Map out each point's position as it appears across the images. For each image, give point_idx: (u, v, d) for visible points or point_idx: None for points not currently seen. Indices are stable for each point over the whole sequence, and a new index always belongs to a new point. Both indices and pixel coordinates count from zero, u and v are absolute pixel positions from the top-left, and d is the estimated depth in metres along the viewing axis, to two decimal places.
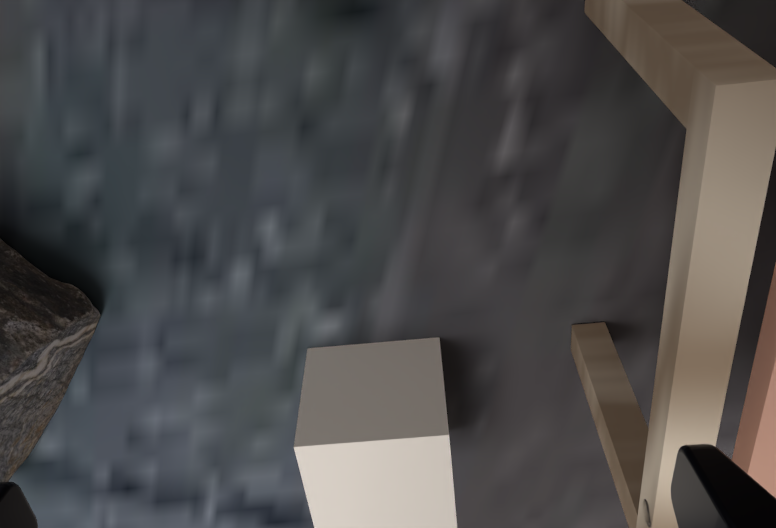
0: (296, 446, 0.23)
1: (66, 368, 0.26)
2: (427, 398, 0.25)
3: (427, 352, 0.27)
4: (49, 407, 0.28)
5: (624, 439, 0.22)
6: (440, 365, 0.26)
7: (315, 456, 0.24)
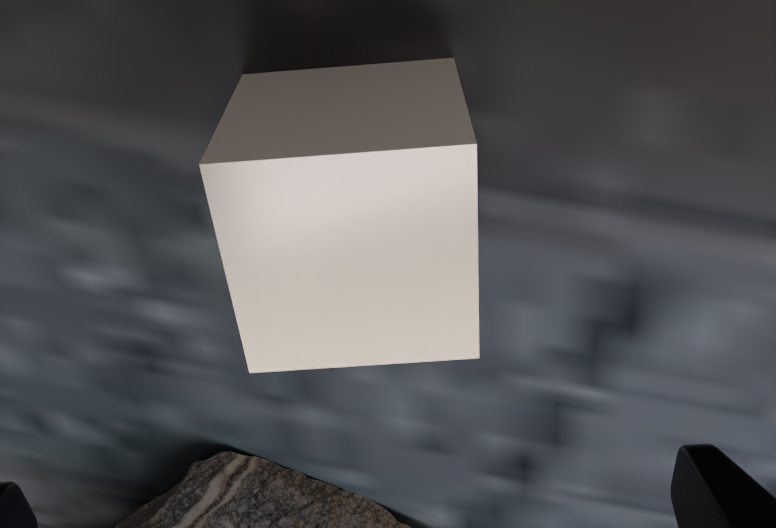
0: None
1: (279, 500, 0.24)
2: None
3: None
4: (345, 520, 0.25)
5: None
6: None
7: (267, 349, 0.15)
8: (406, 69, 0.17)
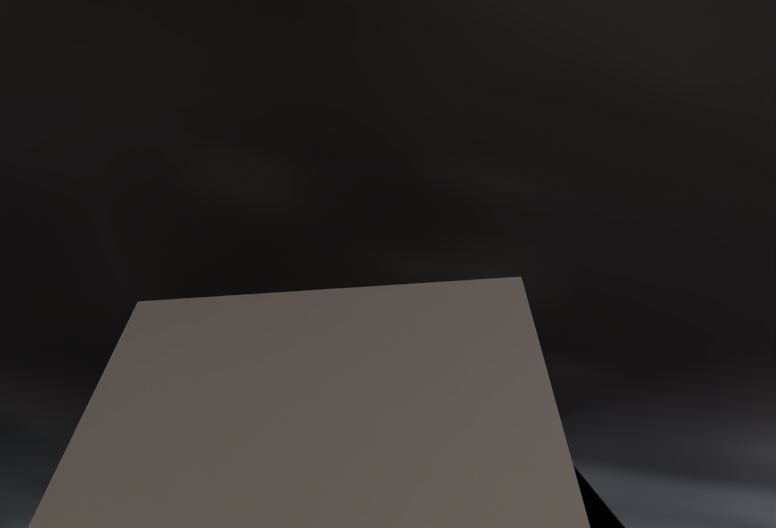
0: None
1: None
2: None
3: None
4: None
5: None
6: (97, 392, 0.08)
7: None
8: (436, 311, 0.09)
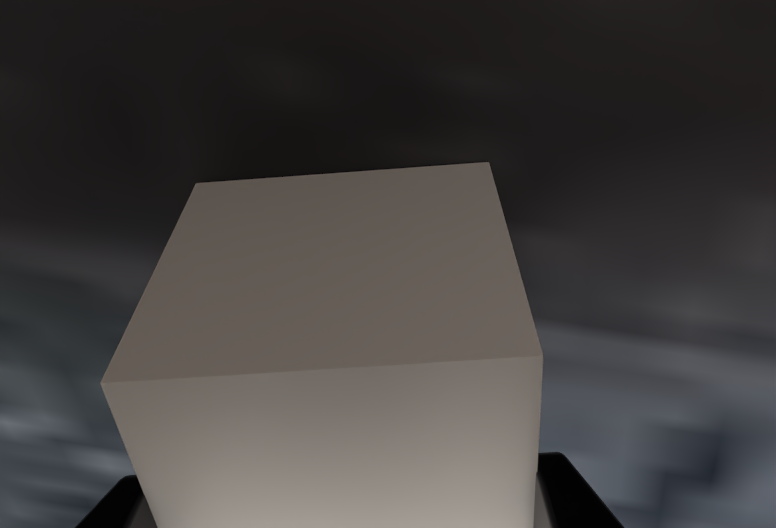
0: None
1: None
2: None
3: None
4: None
5: None
6: (172, 236, 0.11)
7: None
8: (424, 184, 0.12)
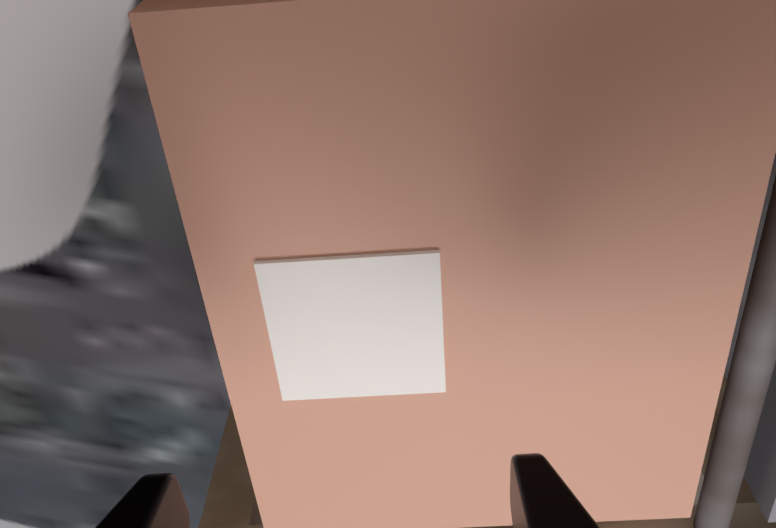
0: None
1: None
2: None
3: None
4: None
5: None
6: None
7: None
8: None
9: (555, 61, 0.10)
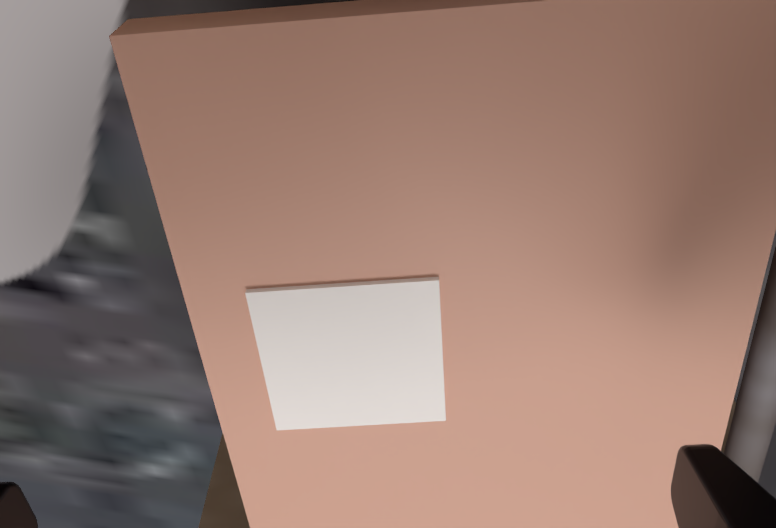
0: None
1: None
2: None
3: None
4: None
5: None
6: None
7: None
8: None
9: (559, 83, 0.10)
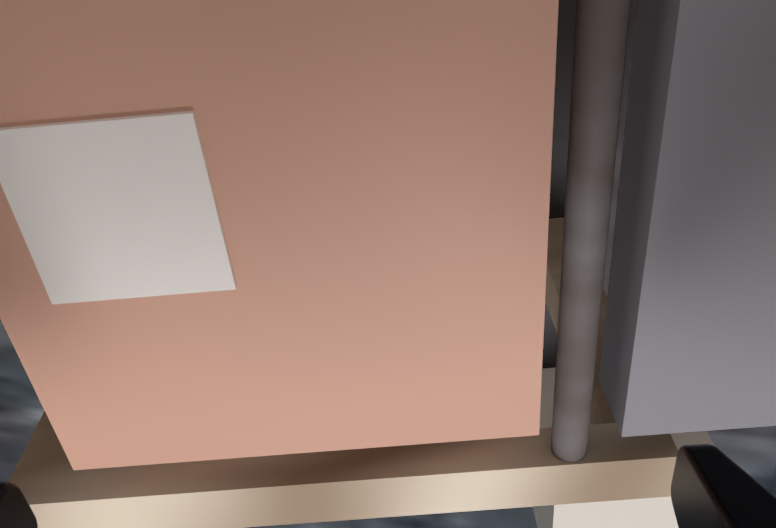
0: None
1: None
2: None
3: None
4: None
5: None
6: None
7: None
8: None
9: None
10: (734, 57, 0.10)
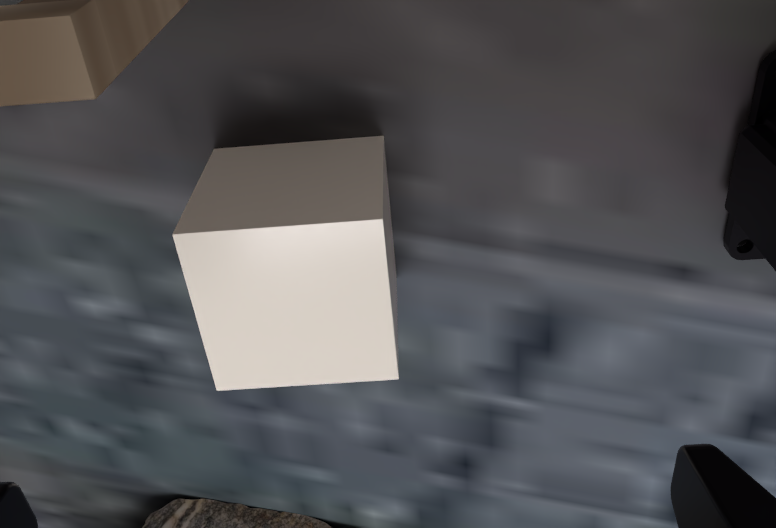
0: (216, 388, 0.20)
1: None
2: None
3: None
4: None
5: None
6: (202, 174, 0.20)
7: (229, 372, 0.20)
8: (344, 146, 0.21)
9: None
10: None
